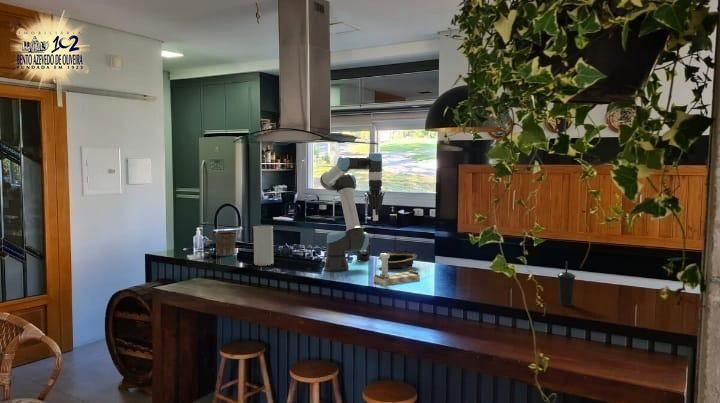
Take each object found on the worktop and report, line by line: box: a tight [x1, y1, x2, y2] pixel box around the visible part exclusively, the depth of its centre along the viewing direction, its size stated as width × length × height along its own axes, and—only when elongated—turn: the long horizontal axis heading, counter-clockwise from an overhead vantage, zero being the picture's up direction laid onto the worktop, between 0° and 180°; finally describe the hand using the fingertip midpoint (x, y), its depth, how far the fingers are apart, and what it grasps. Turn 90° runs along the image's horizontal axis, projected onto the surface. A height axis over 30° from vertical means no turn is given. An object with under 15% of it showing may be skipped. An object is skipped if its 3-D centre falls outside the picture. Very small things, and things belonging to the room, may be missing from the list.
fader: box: [379, 252, 391, 278], centre depth 277 cm, size 3×5×13 cm, turn 32°
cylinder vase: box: [252, 225, 274, 267], centre depth 335 cm, size 12×12×25 cm
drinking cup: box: [556, 260, 576, 307], centre depth 230 cm, size 8×8×20 cm
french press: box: [356, 226, 371, 262], centre depth 348 cm, size 12×9×23 cm
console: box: [373, 269, 421, 286], centre depth 282 cm, size 24×10×4 cm, turn 121°
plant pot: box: [213, 231, 238, 257], centre depth 372 cm, size 16×16×16 cm
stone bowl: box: [377, 250, 418, 270], centre depth 322 cm, size 25×25×9 cm
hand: (375, 220), depth 294 cm, fingers closed
